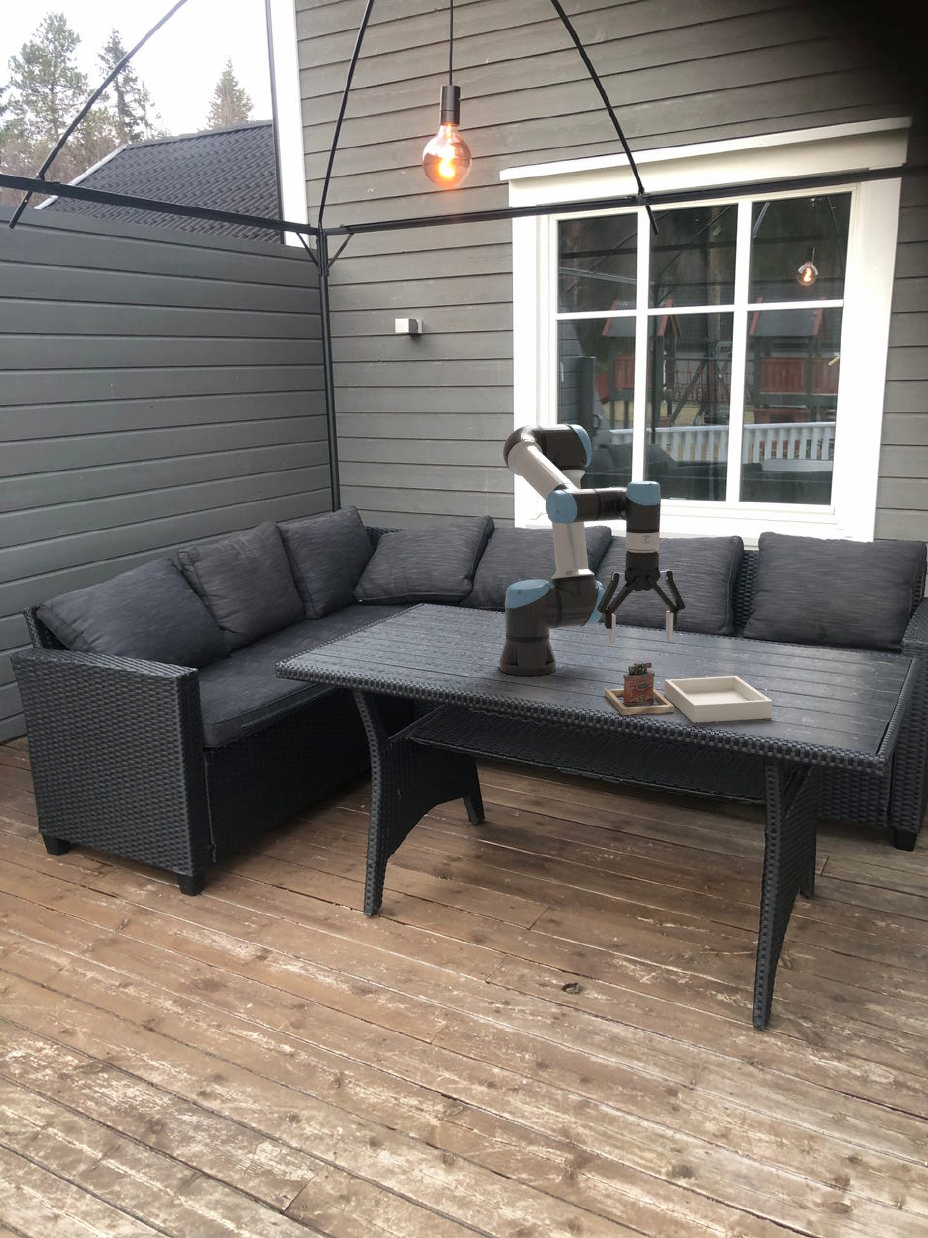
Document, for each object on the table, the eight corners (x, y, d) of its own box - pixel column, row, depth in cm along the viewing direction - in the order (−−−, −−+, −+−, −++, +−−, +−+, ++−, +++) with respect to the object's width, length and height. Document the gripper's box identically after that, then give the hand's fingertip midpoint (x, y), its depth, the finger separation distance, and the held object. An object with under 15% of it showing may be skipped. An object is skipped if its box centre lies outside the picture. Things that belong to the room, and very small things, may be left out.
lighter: (627, 708, 224) (628, 667, 222) (619, 704, 227) (620, 663, 225) (656, 703, 227) (658, 662, 225) (648, 699, 230) (649, 659, 228)
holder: (622, 715, 219) (622, 709, 219) (605, 695, 234) (605, 689, 234) (673, 712, 221) (673, 706, 220) (653, 692, 235) (653, 687, 235)
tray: (693, 722, 214) (694, 705, 213) (664, 695, 233) (664, 679, 232) (771, 718, 216) (772, 701, 215) (735, 691, 235) (736, 675, 234)
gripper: (593, 554, 214) (592, 647, 218) (701, 550, 217) (698, 642, 221) (584, 549, 221) (584, 639, 226) (689, 545, 224) (686, 634, 229)
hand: (640, 641), depth 224 cm, fingers open, 13 cm apart
